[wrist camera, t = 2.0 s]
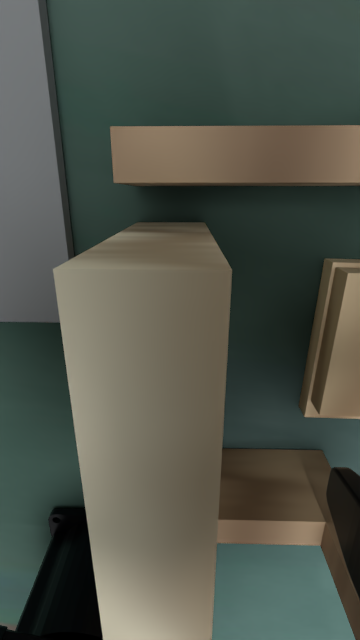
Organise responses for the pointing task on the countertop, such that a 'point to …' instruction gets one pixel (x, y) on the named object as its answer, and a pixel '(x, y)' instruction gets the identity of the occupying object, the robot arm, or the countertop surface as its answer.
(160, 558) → the cream flat block
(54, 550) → the robot arm
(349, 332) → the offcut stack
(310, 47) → the countertop surface
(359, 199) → the countertop surface
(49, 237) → the rubber mat
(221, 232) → the countertop surface
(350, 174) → the light wood rack
